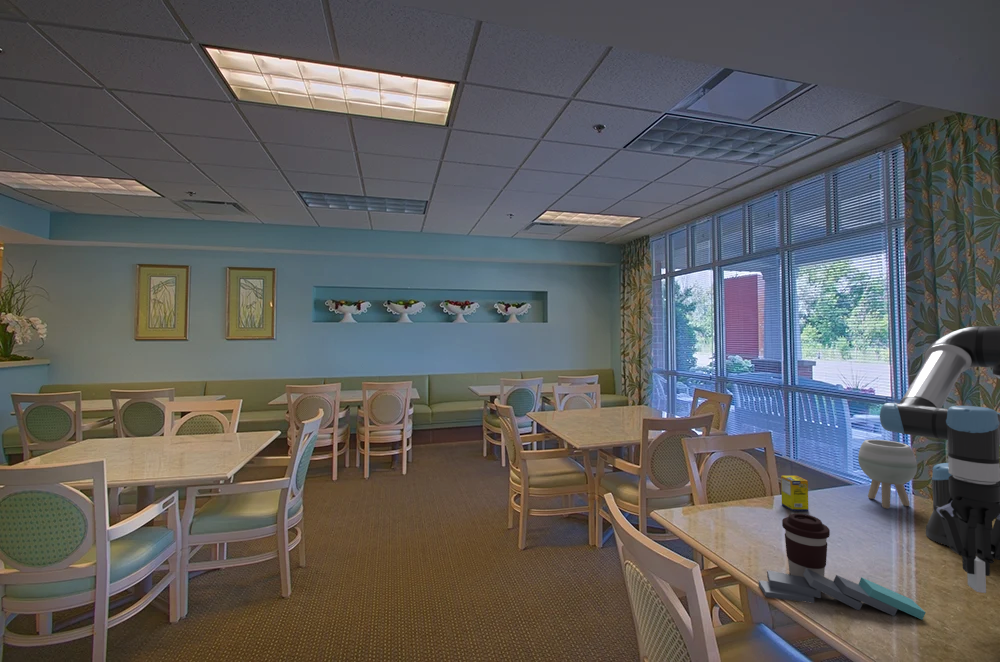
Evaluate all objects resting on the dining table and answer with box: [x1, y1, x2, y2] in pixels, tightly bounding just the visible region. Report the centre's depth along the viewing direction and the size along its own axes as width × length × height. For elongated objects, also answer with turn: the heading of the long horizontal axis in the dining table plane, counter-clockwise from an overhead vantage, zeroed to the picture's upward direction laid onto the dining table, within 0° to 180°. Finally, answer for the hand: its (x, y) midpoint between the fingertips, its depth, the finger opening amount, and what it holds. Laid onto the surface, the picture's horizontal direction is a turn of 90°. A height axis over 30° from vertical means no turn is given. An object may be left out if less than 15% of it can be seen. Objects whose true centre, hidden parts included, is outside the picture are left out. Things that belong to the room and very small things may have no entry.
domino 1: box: [758, 579, 815, 604], centre depth 103 cm, size 2×5×10 cm
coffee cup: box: [781, 512, 831, 577], centre depth 110 cm, size 10×10×15 cm
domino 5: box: [858, 576, 926, 621], centre depth 97 cm, size 2×5×10 cm
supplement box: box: [780, 475, 809, 512], centre depth 155 cm, size 6×6×11 cm
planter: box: [857, 439, 918, 510], centre depth 158 cm, size 16×16×22 cm
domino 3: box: [803, 568, 863, 611], centre depth 100 cm, size 2×5×10 cm
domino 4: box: [832, 574, 898, 617], centre depth 98 cm, size 2×5×10 cm
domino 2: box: [766, 569, 822, 599], centre depth 104 cm, size 2×5×10 cm
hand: (976, 588), depth 92 cm, fingers closed
